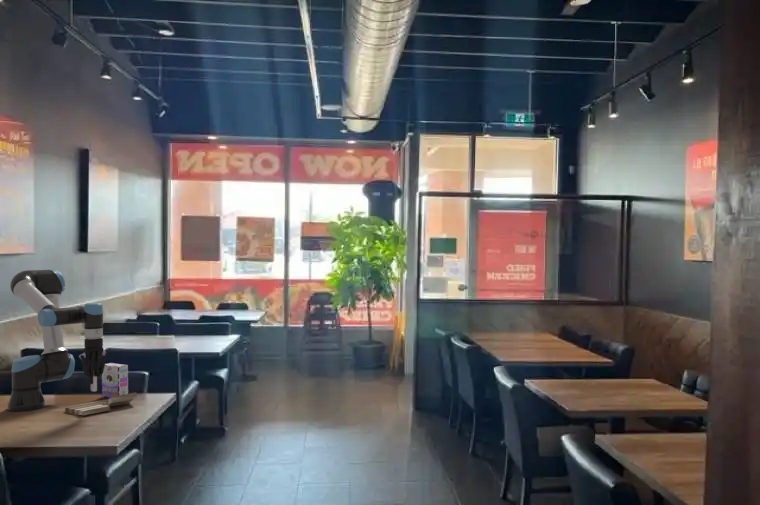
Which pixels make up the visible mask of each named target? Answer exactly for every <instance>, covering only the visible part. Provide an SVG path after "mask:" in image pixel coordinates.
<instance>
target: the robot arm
mask: <svg viewBox="0 0 760 505" xmlns="http://www.w3.org/2000/svg"><path fill="white" fill-rule="evenodd" d="M65 287H66V280H65V276H64V275H63V274H62V273H61V272H60V271H59V270H56V269H38V270H36V269H33V270H31V269H30V270H28V269H27V270H22V271H20V272H18V273H17V274H15V275H14V276H13V277H12V279H11V281H10V287H9V288H10V291H11V292H12V294H13V295H14V297H16V298H18V299H22V300H23V302H25V304H26V305H28V306H29V307H30V308H31V309H32V310H33V311H34V313H36V314H37V322H38V324H39V326H41V333H42V341H43V343H42V344H43V352H42V353H41V354H40V355H39V354H33V355H27V356H22V357H19V358H16V359H14V360H13V362H12V363H11V364H12V365H11V370H10V371H11V394H10V396H9V400H8V403H7V411H9V412H24V411H25V412H27V411H33V410H39V409H42V408H44V407H46V406H45V405H46V400H45V398H44V395H43V393H42V389H41V387H42V386H41V384H42V383H47V382H54V381H55V382H56V381H61V380H65V379H68V378H70V377H72V375H73V373H74V371H75V365H76V363H75V362H76V360H75V358H74V355H73V354H71V353H69V349H67V348H66V347H65V344H64V343H65V342H64V335H63V326H65V325H66V326H67V325H76V324H84V327H83V328H84V331H83V332H84V336H83V337H84V340H83V344H84V350H83V353H81V354H79V355H78V359H79V360H80V363H81V368H82V371H83V375H84V376H86V377H88V384H90V391H91V392H97V391H98V384H99V382H100V381H99V379H100V378H99V377H100V376H101V375H102V374H103V371H104V367H105V364H106V361H107V357H108V356H109V352H108V351H105V350H104V347H103V346H104V338H103V336H104V310H103V309H104V307H103V304H102V303H100V302H88V303H85V304H84V306H83V305H77V306H73V307H72V306H71V307H60V303H59V302H60V301H59V299H60V298H61V297H62V293H63V292H64V291H65V289H66V288H65ZM86 358H87V360H86Z"/></svg>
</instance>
